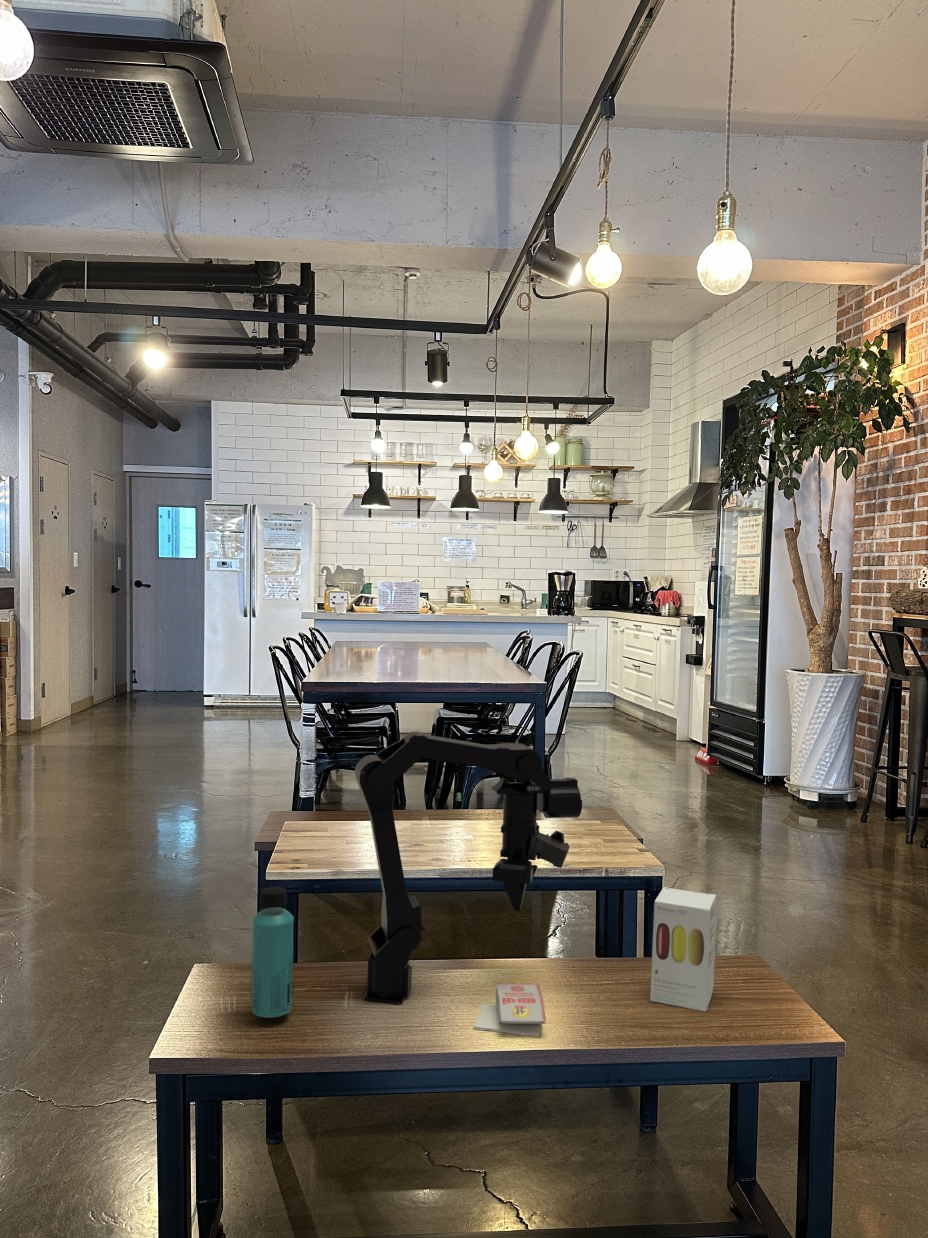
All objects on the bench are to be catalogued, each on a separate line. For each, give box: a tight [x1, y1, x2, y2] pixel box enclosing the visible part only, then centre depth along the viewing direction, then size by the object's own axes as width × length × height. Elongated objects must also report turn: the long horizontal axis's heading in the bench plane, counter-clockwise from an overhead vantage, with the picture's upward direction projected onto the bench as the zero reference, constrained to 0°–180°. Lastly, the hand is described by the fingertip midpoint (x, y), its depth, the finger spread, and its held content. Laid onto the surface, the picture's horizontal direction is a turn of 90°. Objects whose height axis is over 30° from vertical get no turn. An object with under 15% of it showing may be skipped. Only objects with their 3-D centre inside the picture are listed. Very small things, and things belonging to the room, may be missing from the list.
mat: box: [472, 1003, 546, 1037], centre depth 142 cm, size 10×8×1 cm
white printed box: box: [495, 982, 547, 1025], centre depth 142 cm, size 4×7×10 cm
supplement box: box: [649, 886, 718, 1012], centre depth 154 cm, size 10×9×17 cm
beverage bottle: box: [249, 886, 295, 1018], centre depth 141 cm, size 6×7×20 cm
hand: (517, 910), depth 156 cm, fingers closed
